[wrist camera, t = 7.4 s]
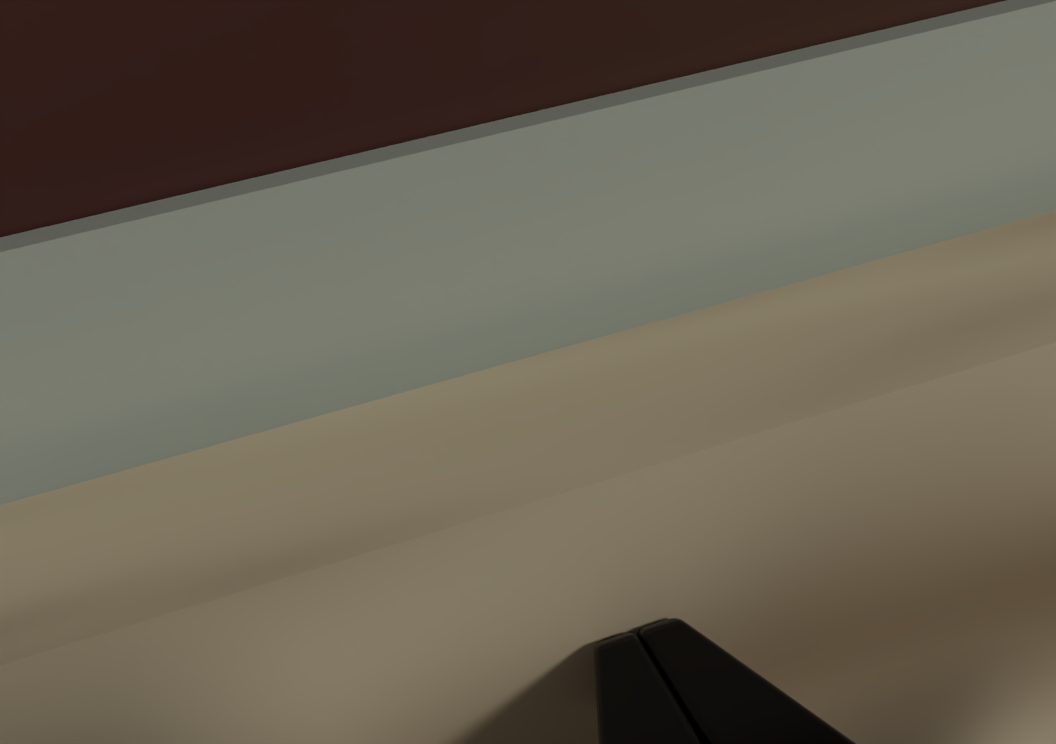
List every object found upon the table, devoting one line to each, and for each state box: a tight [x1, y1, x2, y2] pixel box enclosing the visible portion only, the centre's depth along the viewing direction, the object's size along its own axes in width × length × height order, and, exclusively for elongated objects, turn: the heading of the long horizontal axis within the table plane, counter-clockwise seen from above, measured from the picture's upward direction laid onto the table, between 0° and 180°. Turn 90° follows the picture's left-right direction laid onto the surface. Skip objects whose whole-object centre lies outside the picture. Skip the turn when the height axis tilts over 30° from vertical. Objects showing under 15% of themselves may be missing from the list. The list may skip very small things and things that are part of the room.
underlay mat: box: [0, 0, 1056, 505], centre depth 15 cm, size 20×30×1 cm, turn 99°
